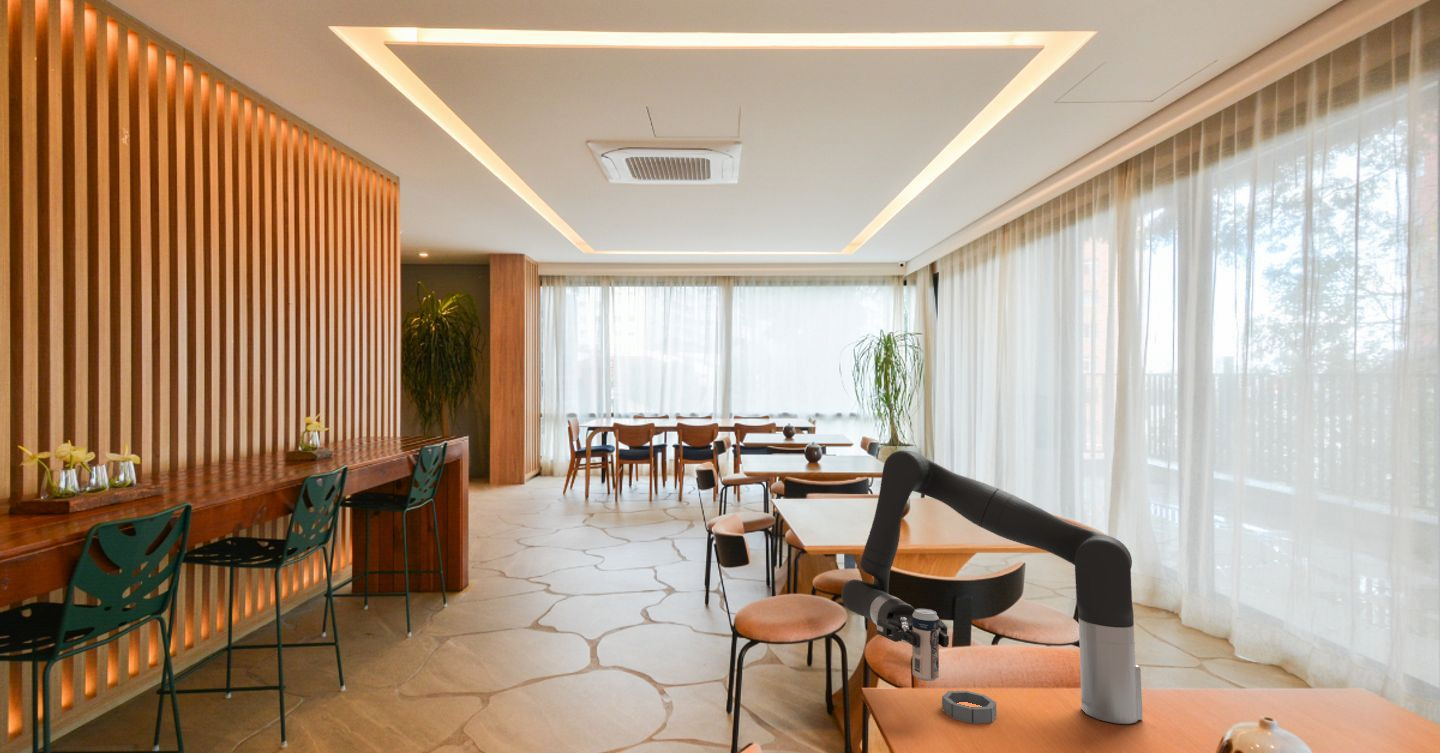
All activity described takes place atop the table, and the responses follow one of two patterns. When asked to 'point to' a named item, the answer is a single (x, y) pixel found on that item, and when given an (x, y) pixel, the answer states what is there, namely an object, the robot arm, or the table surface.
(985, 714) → the holder ring
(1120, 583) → the robot arm
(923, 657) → the beer can
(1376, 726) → the table surface
